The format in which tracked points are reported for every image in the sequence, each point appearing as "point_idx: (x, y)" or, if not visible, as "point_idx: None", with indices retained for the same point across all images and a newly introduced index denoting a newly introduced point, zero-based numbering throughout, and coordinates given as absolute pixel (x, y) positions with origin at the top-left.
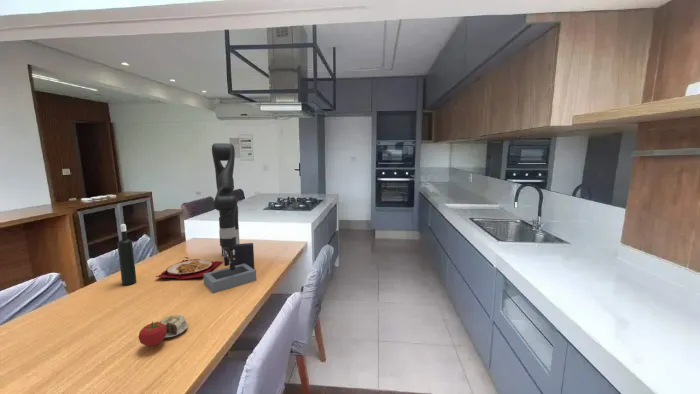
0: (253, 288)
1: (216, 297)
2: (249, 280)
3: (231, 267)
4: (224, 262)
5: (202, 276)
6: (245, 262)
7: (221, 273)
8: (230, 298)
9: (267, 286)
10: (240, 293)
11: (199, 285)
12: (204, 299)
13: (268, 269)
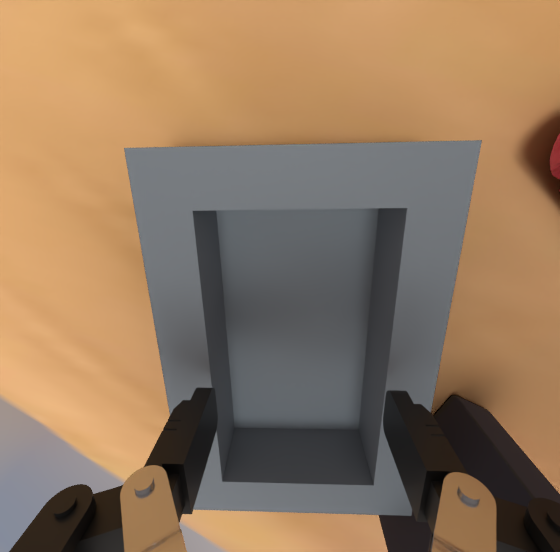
0: (95, 386)
1: (77, 153)
2: None
3: (181, 420)
4: (412, 421)
5: (552, 167)
6: (428, 524)
7: (384, 310)
8: (14, 229)
9: (81, 445)
10: (61, 305)
11: (411, 103)
12: (88, 58)
13: (318, 536)
